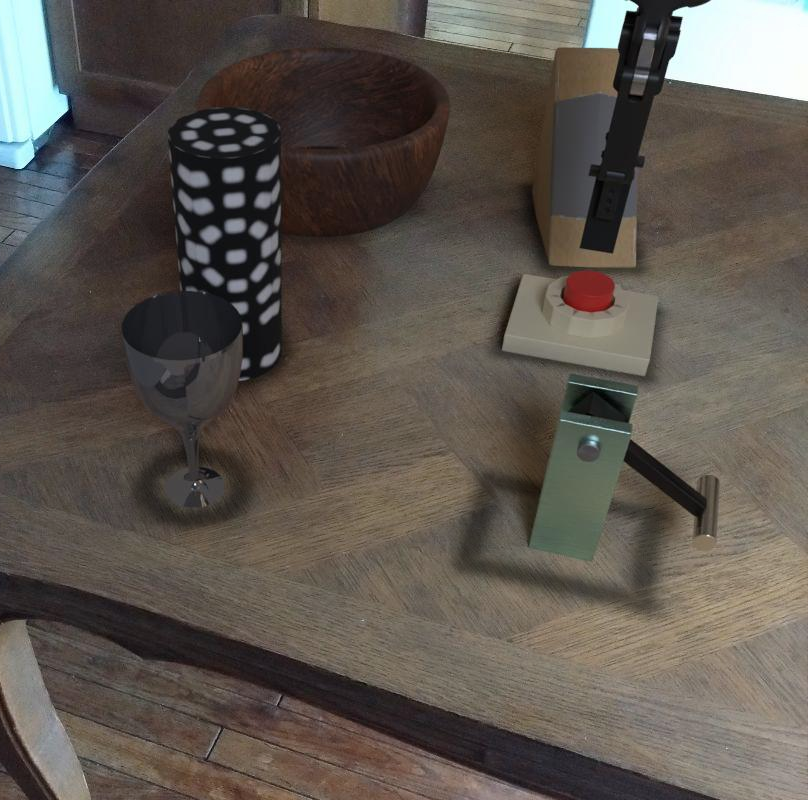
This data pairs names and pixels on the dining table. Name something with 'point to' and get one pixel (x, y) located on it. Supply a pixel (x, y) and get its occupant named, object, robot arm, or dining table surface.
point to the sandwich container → (578, 158)
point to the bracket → (582, 470)
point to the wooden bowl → (341, 132)
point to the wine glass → (185, 374)
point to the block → (581, 327)
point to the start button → (589, 291)
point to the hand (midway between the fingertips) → (597, 246)
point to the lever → (666, 478)
